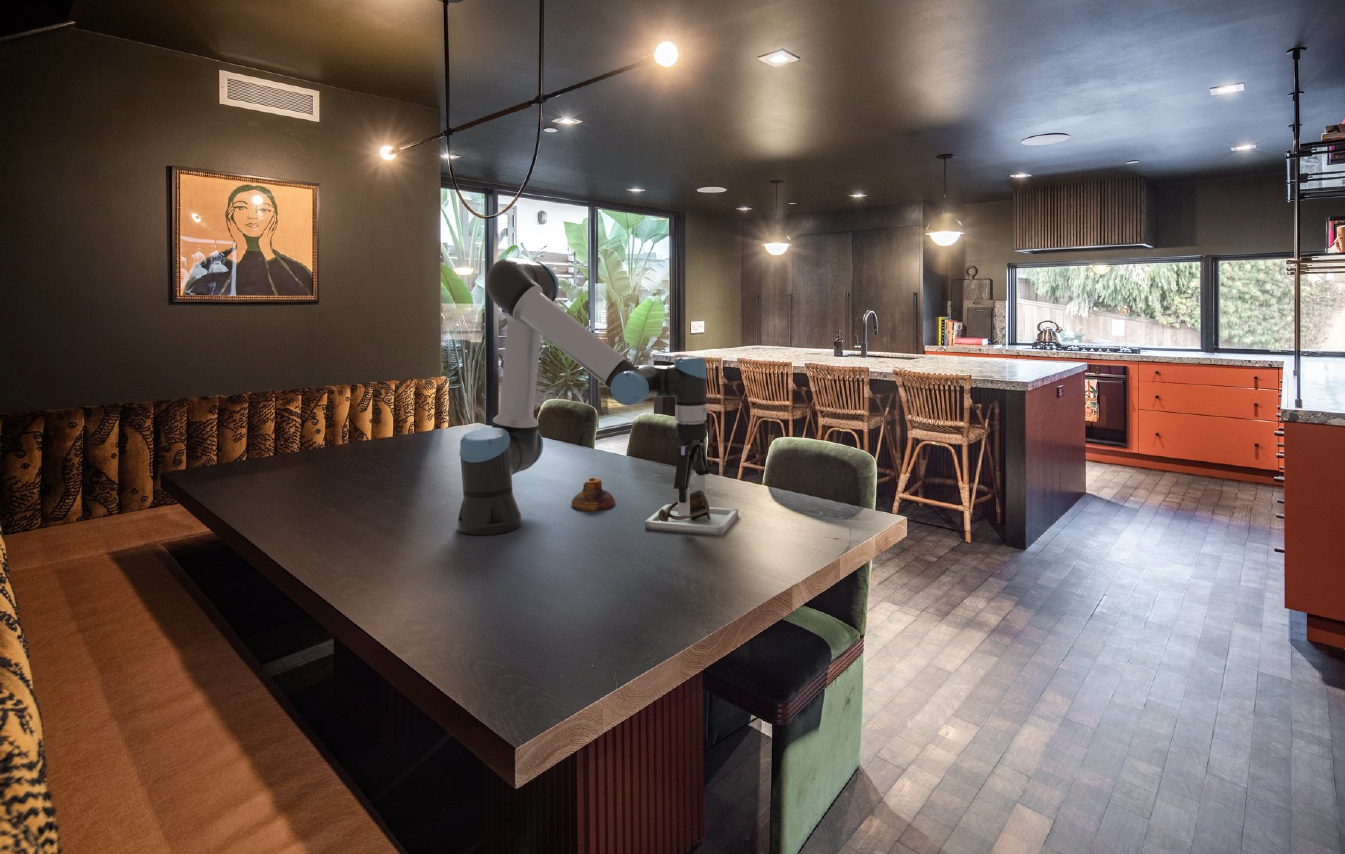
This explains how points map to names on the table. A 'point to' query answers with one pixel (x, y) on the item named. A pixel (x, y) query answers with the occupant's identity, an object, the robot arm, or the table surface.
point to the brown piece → (696, 508)
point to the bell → (593, 497)
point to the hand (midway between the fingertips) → (692, 507)
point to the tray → (695, 521)
